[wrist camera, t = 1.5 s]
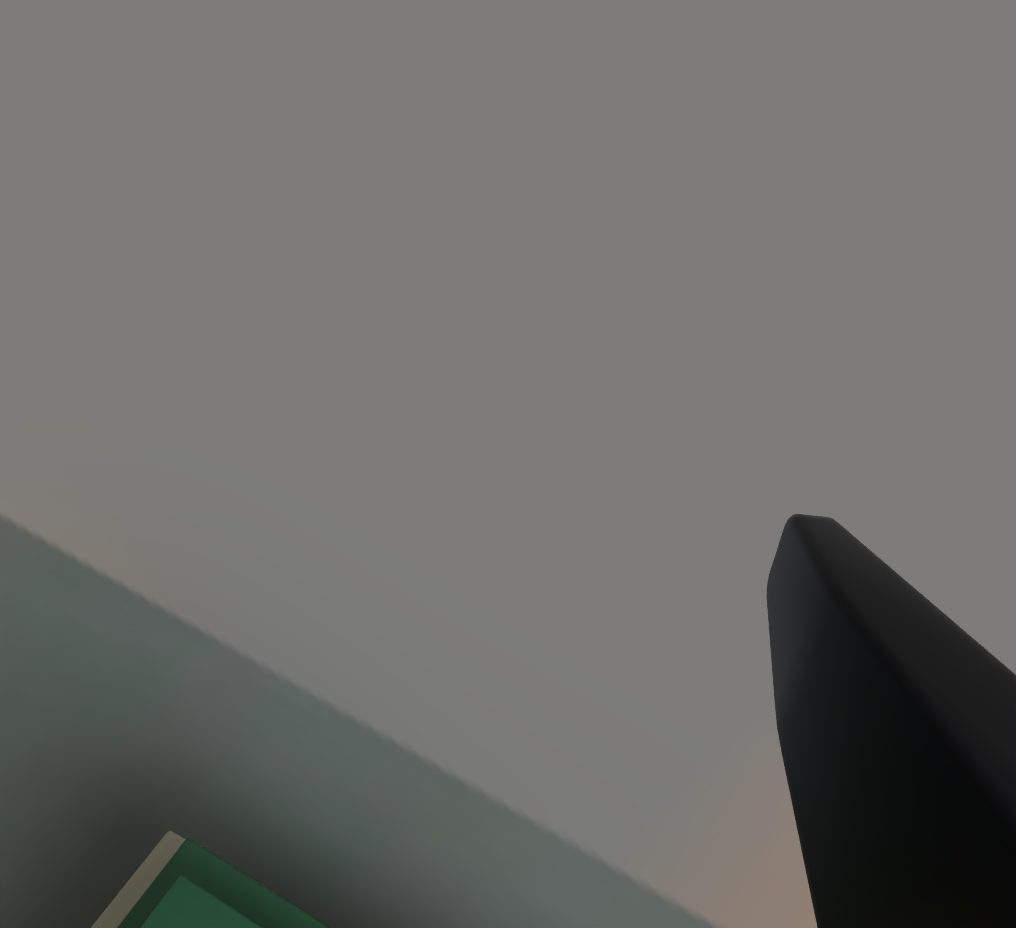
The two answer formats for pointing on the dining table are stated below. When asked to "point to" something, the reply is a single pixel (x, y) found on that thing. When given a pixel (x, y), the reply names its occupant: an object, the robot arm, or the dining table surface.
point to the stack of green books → (197, 894)
